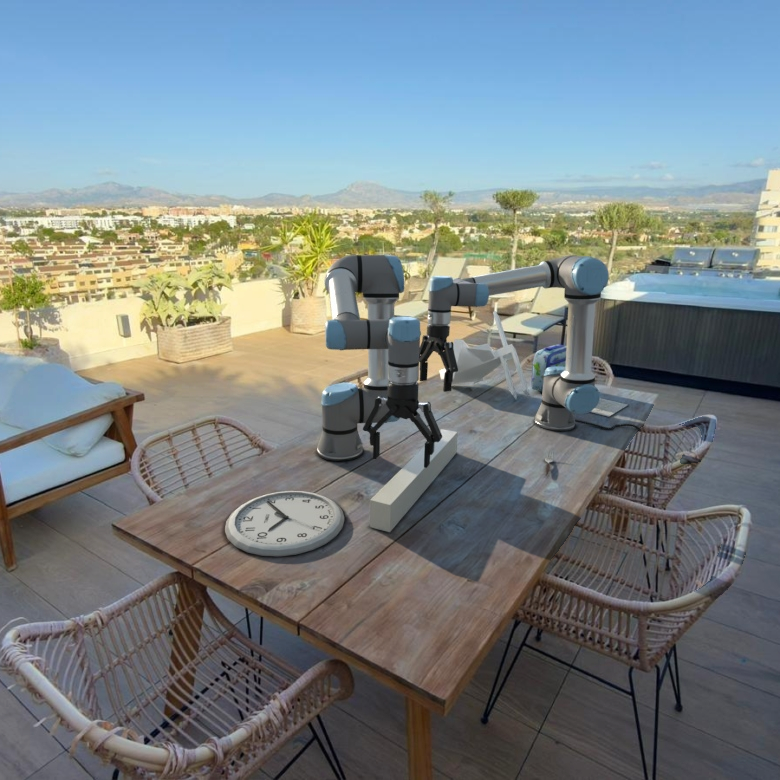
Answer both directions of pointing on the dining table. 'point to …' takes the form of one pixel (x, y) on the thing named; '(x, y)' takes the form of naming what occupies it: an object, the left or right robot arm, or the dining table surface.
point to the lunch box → (546, 363)
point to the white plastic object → (485, 361)
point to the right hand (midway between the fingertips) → (434, 385)
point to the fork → (548, 462)
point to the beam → (410, 483)
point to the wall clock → (284, 523)
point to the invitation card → (608, 407)
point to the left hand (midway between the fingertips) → (401, 461)
